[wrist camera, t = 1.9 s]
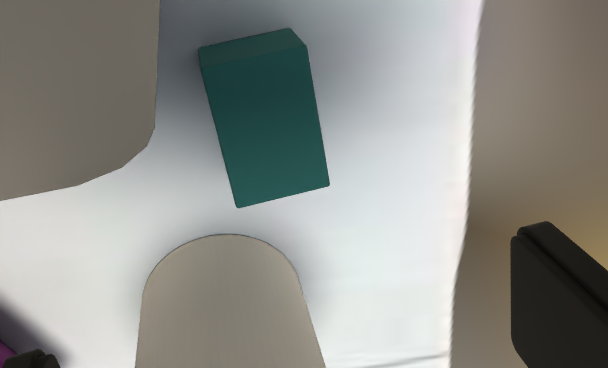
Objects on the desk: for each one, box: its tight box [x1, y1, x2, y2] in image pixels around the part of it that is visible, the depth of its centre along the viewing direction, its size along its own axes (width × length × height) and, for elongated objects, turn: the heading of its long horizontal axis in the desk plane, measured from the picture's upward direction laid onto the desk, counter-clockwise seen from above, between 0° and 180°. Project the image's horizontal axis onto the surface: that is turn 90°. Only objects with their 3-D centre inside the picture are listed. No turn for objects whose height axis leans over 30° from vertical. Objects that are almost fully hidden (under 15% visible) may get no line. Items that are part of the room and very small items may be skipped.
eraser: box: [198, 28, 330, 208], centre depth 24 cm, size 6×4×4 cm, turn 10°
